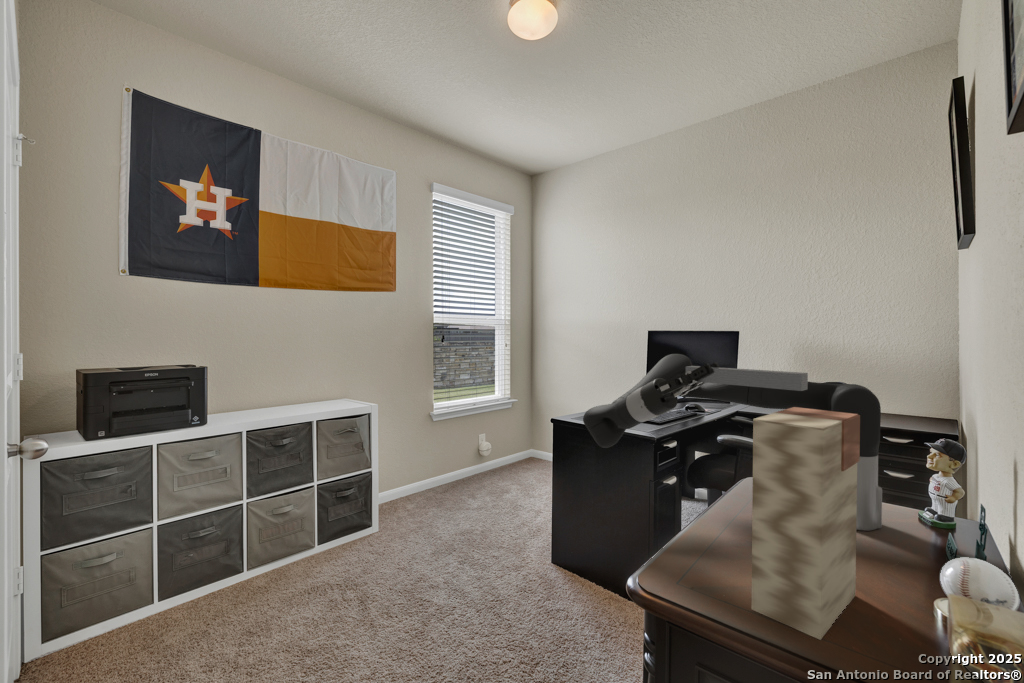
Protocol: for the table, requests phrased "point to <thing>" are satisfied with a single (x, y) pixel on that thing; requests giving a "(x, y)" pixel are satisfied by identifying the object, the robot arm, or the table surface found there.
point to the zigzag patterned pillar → (804, 516)
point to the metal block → (756, 378)
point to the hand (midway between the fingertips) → (714, 367)
